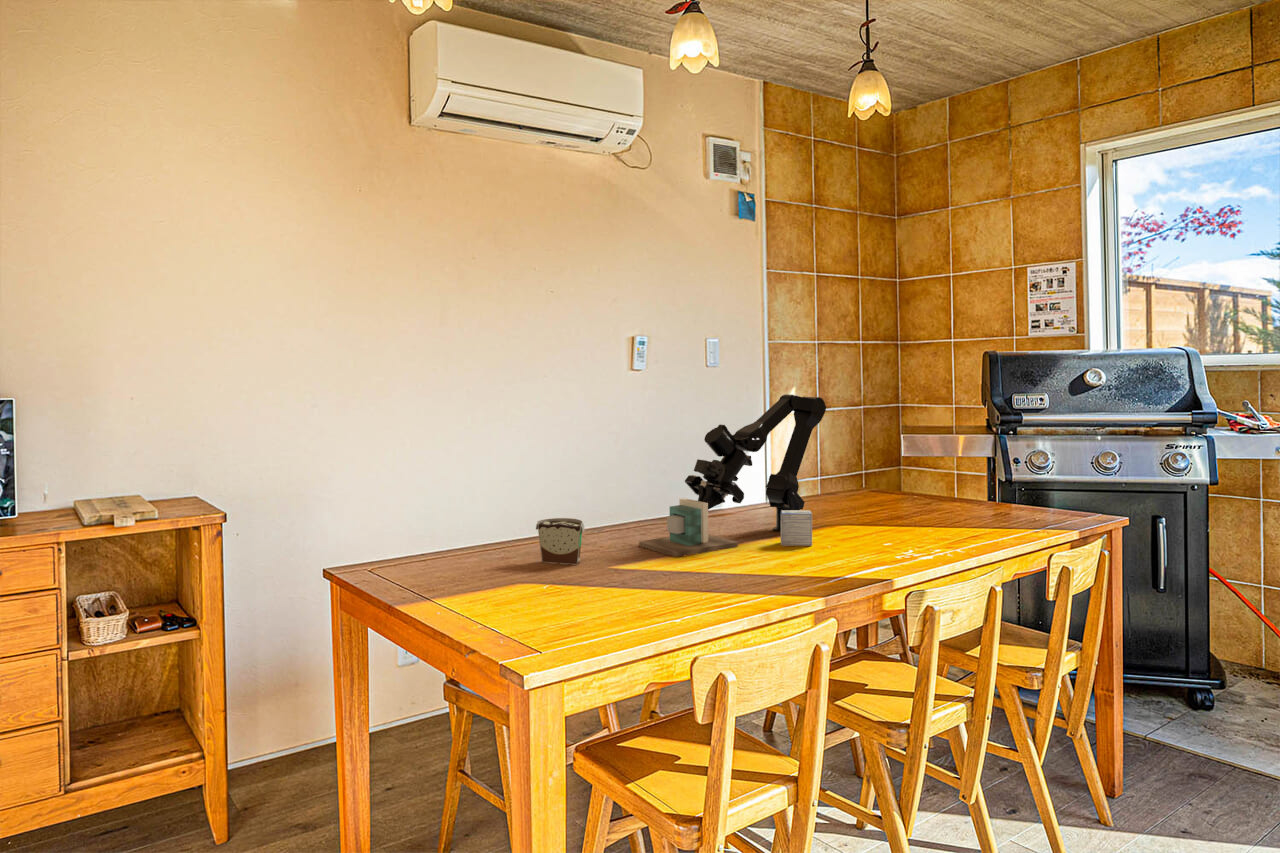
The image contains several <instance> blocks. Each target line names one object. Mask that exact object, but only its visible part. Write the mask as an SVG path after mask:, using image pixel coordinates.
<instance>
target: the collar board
mask: <svg viewBox="0 0 1280 853" xmlns="http://www.w3.org/2000/svg"><path fill="white" fill-rule="evenodd" d="M672 515H682V516H685V533H680V534H674V533H671V532H669V536H666V537H660V538H659V537H658V538H652V539H646V540H640V541H638V546H639V547H641V548H644V547H645V548H644V549H647V548H648V549H647V550H650V549H651V550H652V551H654V550H655V551H654V552H657V551H658V553H660V552H661V554H664V553H665V554H664V555H667V554H668V556H670V555H672V556H671V557H673V556H675V557H674V558H679V557H678V556H681V557H685V556H684V555H687V556H691V555H690V554H692V555H697V554H696V553H698V554H702V552H704V553H709V552H708V551H710V552H714V551H713V550H715V551H720V550H719V549H721V550H726V549H725V548H727V549H731V548H730V547H732V548H737V547H736V546H738V547H739V541H736V540H734V539H733V540H732V539H728V538H723V537H720V536H716V535H711V534H709V533H708V542H704V543H703V542H701V509H698V508H694V507H689V506H685V505H679V504H678V505H670V506H669V516H672Z"/></svg>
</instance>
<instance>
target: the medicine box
mask: <svg viewBox="0 0 1280 853" xmlns="http://www.w3.org/2000/svg"><path fill="white" fill-rule="evenodd" d="M780 544H781V546H782V547H783V546H785V547H786V546H787V547H789V546H791V547H792V546H794V547H797V546H798V547H799V546H800V547H803V546H805V547H806V546H807V547H811V546H813V513H812V511H811V510H807V509H806V510H805V509H804V510H803V509H801V510H781V531H780Z"/></svg>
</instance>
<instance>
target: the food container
mask: <svg viewBox="0 0 1280 853" xmlns="http://www.w3.org/2000/svg"><path fill="white" fill-rule="evenodd" d="M535 530H537V531H538V540H539V548H540V549H539V550H540V555H541V556H540V558H541V563H542V562H549V563H548V564H555V563H560V565H568V564H572V565H573V566H578V564H579V565H580V561H581V548H582V537H583V533H584V532H585V531H586V528H585V525H584V522H583V521H582V519H577V518H568V517H567V518H566V517H555V518H545V519H540V520H537V523H536V525H535ZM572 565H571V566H572Z"/></svg>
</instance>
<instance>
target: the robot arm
mask: <svg viewBox="0 0 1280 853" xmlns="http://www.w3.org/2000/svg"><path fill="white" fill-rule="evenodd" d="M826 410H827V405H826V403H825V400H824V399H823V398H822V397H819V396H800V395H797V394H789V393H788V394H787V393H786V394H783V395H781V396H780V397H779V399H778V400H777V401H776V402H775V403H774V404H772V406H771V407H769V409H767V411H765V412H764V413H763V414H762V415H761V416H760V417H759V418H758V419H757V420H756V421H754V422H752V423H749V424H747V425H744V426H743V427H741V428H739V429H738V430H737V431H736V432H735V433H734V434H732V432H730V431H729V429H728V428H727V426H726V425H725V424H718V425H717V427H714V428H712V429H711V430H710V431H708V432H707V433H706V434H705V436H704V442H705V443H706V445H708V447H709V448H710V449H711V450H712V452H714V454H715V456H717V457H722V458H721V460H717V459H713V460H712V461H709V460H707V459H697V460H696V462H695V466H694V469H693V472H696V473H699V474H701V475H703V476H702V477H701V476H699V475H693V474H691V475H688V476H687V477H686V478H685V479H684V483H685V484H686V485H687V487H688V488H690V490H692V492H694V494H695V495H696V496H698V498H697V501H700V502H705V503H708V511H709V510H710V509H713V508H714V507H716V506H718V505H720V504H723V503H726V499H725V498H726V497H728V496H729V495H730V496H732V498H731V499H732V502H733V503H734V504H735V503H736V504H741V503H742V502H743V500H744V498H745V493H744V491H743V490H742V489H741V488H740V487H739V485H738V484H737V481H738V480H739V477H738V476H737V475H738V474H739V473H740V472H741V470H742V468H743V467H744V466H748V467H753V460H752V456H751V455H747V453H745V452H752V453H757V452H759V451H760V450H761V449H762V448H763V446H764V445H765V443H766V442H767V440H768V435H769V434H770V433H771V432H772V431H773V430H774V429H775V428H776V427H777V426H779V424H780V423H781V422H782V421H784V419H786V418H787V416H789V415H790V414H791V413H792V412H793V418H794V422H795V424H794V428H793V431H792V433H791V437H790V439H789V443H788V446H787V447H786V448H787V449H786V451H785V455H784V457H783V460H782V463H781V466H780V469H779V471H778V472H777V473H771V474H770V475H769V476H768V477H769V478H768V482H767V484H766V485H765V488H766V490H765V491H766V492H765V495H766V498H767V500H768V503H769V506H770V507H771V508H776V510H775V512H776V514H775V515H776V516H775V518H776V522H775V523H776V524H775V525H776V526H774V527H773V528H772V529H771V530H772V531H776V532H781V510H803V509H804V507H805V501H804V499H803V498H802V496H800V494H799V488H800V487H799V481H798V474H799V471H800V467H801V464H802V461H803V458H804V455H805V452H806V450H807V447H808V445H809V444H808V443H809V440H810V437H811V435H812V432H813V430H814V429H815V428H816V426H818V425H819V423H821V421H822V419H823V418H824V415H825V413H826V412H827V411H826Z"/></svg>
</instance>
